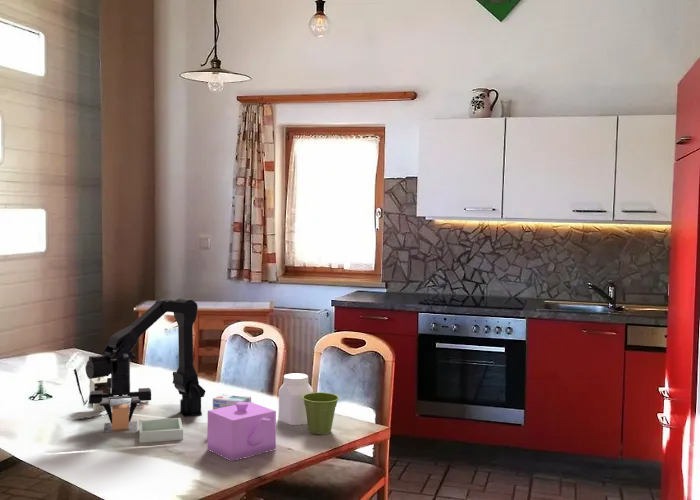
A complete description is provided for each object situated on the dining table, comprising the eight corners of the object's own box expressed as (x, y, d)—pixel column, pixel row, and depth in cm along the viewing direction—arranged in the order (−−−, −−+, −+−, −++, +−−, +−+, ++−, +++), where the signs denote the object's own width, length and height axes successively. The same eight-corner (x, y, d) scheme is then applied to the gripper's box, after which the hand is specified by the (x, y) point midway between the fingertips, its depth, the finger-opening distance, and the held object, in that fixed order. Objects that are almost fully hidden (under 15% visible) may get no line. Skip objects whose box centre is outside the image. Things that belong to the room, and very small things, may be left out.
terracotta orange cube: (128, 423, 231) (128, 404, 230) (128, 428, 226) (128, 408, 226) (112, 425, 229) (112, 405, 229) (112, 429, 224) (112, 409, 224)
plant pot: (325, 439, 220) (325, 403, 219) (294, 433, 226) (294, 397, 225) (345, 430, 230) (346, 395, 229) (315, 423, 236) (315, 390, 236)
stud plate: (136, 422, 234) (136, 406, 234) (137, 432, 224) (137, 414, 224) (104, 425, 231) (104, 408, 231) (103, 434, 221) (103, 417, 221)
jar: (317, 421, 239) (318, 377, 238) (295, 426, 232) (295, 381, 232) (295, 413, 247) (296, 370, 247) (273, 419, 241) (274, 375, 240)
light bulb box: (251, 429, 229) (252, 396, 229) (241, 435, 223) (242, 401, 222) (222, 425, 233) (222, 392, 232) (211, 431, 226) (211, 397, 226)
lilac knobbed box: (247, 468, 195) (247, 418, 194) (198, 445, 213) (198, 399, 212) (290, 456, 205) (291, 408, 204) (240, 435, 223) (241, 391, 222)
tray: (180, 428, 228) (180, 417, 228) (182, 441, 216) (183, 429, 216) (139, 431, 225) (139, 420, 225) (139, 444, 213) (139, 432, 212)
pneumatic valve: (95, 416, 240) (95, 381, 239) (89, 407, 250) (88, 374, 250) (112, 414, 243) (112, 379, 242) (105, 406, 253) (105, 372, 252)
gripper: (150, 367, 237) (150, 413, 238) (90, 369, 232) (91, 417, 232) (151, 374, 226) (151, 423, 227) (88, 377, 221) (88, 427, 222)
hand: (120, 422), depth 227 cm, fingers closed on terracotta orange cube, 5 cm apart
